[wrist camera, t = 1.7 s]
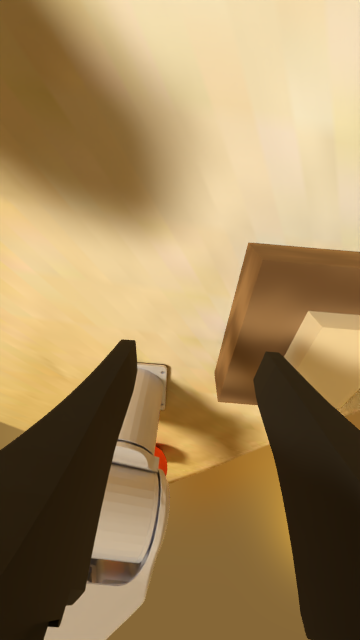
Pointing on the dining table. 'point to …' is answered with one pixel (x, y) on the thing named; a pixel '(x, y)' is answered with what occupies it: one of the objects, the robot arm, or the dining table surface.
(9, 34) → the dining table surface
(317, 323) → the tile
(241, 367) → the brown wooden block
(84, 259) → the dining table surface
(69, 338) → the dining table surface
